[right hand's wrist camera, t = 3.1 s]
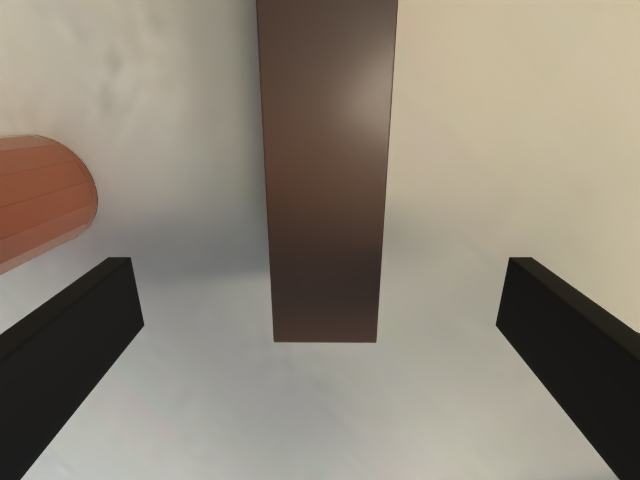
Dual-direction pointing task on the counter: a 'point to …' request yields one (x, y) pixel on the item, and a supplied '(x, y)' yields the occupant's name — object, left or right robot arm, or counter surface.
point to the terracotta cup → (40, 197)
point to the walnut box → (326, 161)
